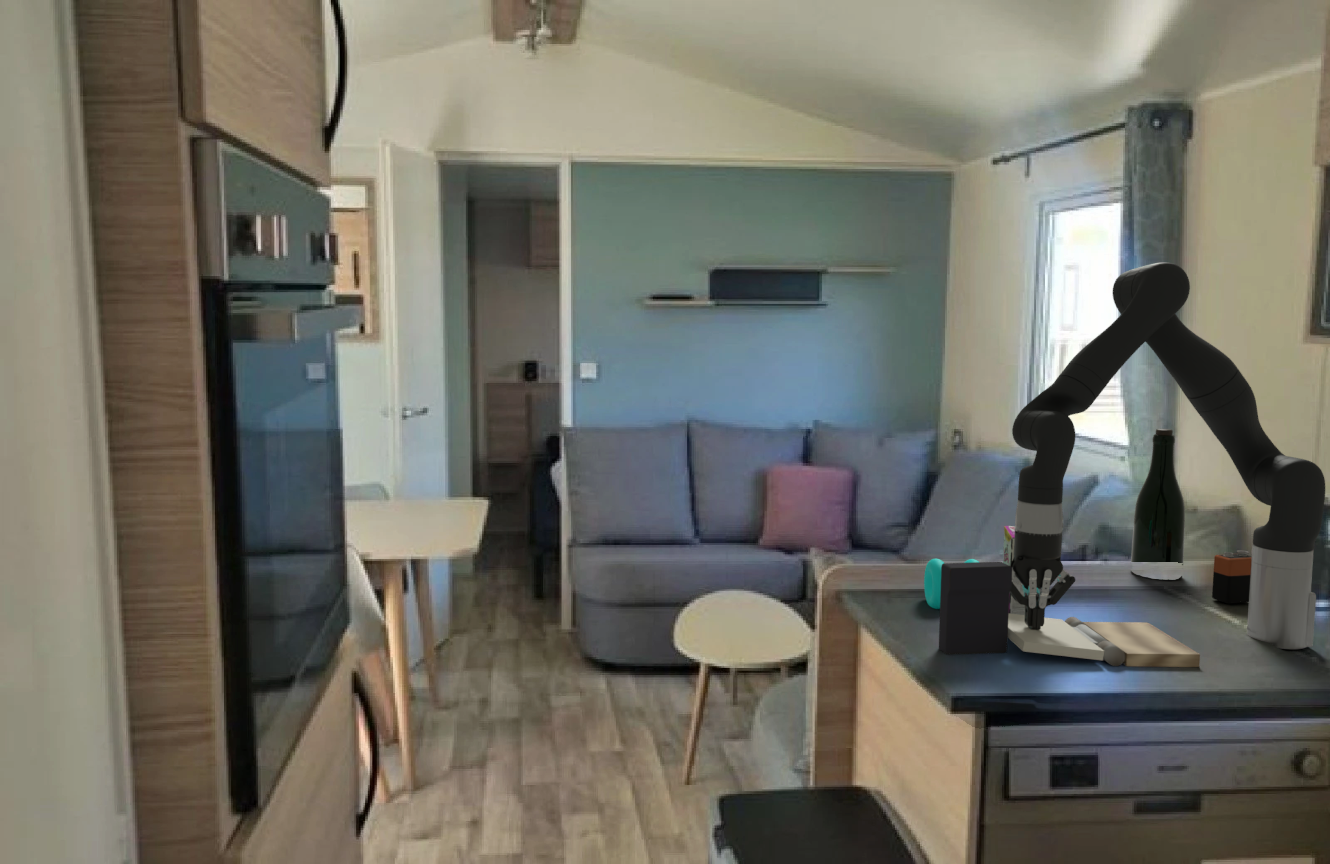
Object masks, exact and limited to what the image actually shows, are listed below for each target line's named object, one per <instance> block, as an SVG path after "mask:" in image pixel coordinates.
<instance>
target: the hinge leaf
mask: <svg viewBox="0 0 1330 864" xmlns="http://www.w3.org/2000/svg"><path fill="white" fill-rule="evenodd" d="M1024 619H1025V615H1019V614H1010V613H1009V615H1008V640H1010V641H1011V642H1012V643H1014V645H1016V647H1018V648H1019V649H1020V650H1021V651H1022V652H1026V653H1035V654H1044V655H1052V656H1060V657H1061V656H1062V657H1070V658H1077V659H1085V660H1086V659H1087V660H1095V661H1104V659H1103V656H1104V650H1102V649H1101V648H1100V647H1098V646H1097V645H1098V644H1099V643H1100V642H1102V641H1107V640H1106V639H1105V638H1103V637H1102V636H1100V635H1099V634H1098V633H1096V632H1095V631H1093V630H1092V629H1090V628H1089V627H1088V626H1086V625H1084V624H1080V625H1078V626H1076V627H1071V626H1070V625H1068V624H1067V623H1066V622H1065V620H1063V619H1062V618H1051V617H1045V616H1044V625H1043V626H1041V629H1040V630H1036V629H1030V628H1029V627H1028V625H1027V624H1025V621H1024Z"/></svg>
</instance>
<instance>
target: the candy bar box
mask: <svg viewBox="0 0 1330 864" xmlns="http://www.w3.org/2000/svg"><path fill="white" fill-rule="evenodd" d="M1014 538H1015V525H1013V526H1012V525H1004V526H1003V546H1002V547H1003V550H1002V551H1003V553H1002V555H1003V556H1002V558H1003V559H1002V563H1005V564H1007V565H1009V566H1010V565H1011V562H1012V560H1013V558H1014ZM1014 578H1015V581H1014V582H1013V584H1014V585H1015V586H1016V588H1017V589H1018V590H1019V592H1020V593H1021V594H1022V596H1024V592H1023V586H1022V583H1021V582H1020V581H1019V579H1018V578H1017V576H1016V575H1015V574H1014ZM1009 613H1010V614H1019V615H1025V605H1021V604H1019V603H1018V602H1017V601H1015V600H1014V598H1013V597H1012V596H1011V594H1010V593H1009Z"/></svg>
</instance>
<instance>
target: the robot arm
mask: <svg viewBox="0 0 1330 864" xmlns="http://www.w3.org/2000/svg"><path fill="white" fill-rule="evenodd" d="M1190 285H1191V283H1190V279H1189V276H1188V275H1187V272H1186V271H1185V270H1184V269H1183V268H1182V267H1180V265H1177V264H1175V263H1172V262H1168V261H1167V262H1166V261H1165V262H1156V263H1150V264H1146V265H1144V266H1139V267H1136V268H1133V269H1130V270H1127V271H1124V272H1123V273H1120V274H1119V276H1118V277H1117V278H1116V279H1115V281H1114V283H1113V286H1112V298H1113V302H1114V305H1115V307H1116V309H1117V310H1118V312H1119V313H1120V315H1118V317H1117V318H1116V319H1115V320H1114V321H1113V322H1112V323H1111V324H1110V325H1109V326H1108V327H1107V328H1106V329H1104V330H1103V331H1102V332H1101V333H1100V334H1098V335H1097V336H1096V337H1095V338H1093V339H1092V340H1091V341H1089V342H1088V344H1086V345H1085V346H1084V347H1083V348H1082V349H1080V351H1078V353H1076V355H1075V356H1074V357H1073V358H1071V360H1070V361H1069V362H1068V363H1067V365H1066V366H1065V367H1064V368H1063V370H1062V371H1061V372H1060V374H1059V375H1058V377H1057V378H1056V379H1055V380H1054V382H1053V383H1052V384H1051V385H1050V386H1049V387H1047V388H1046V389H1045V390H1042V391H1041V392H1040V394H1038V395H1037V396H1036V397H1034V398H1033V399H1032V400H1031V401H1030V402H1028V403H1027V404H1026V405H1025V406H1024V407H1023V408H1022V409H1021V410H1020V411H1019V413H1018V414H1017V415H1016V417H1015V419H1014V422H1013V424H1012V429H1011V432H1012V437H1013V441H1014V442H1015V443H1016V444H1017V446H1018V447H1020V448H1022V449H1025V450H1028V451H1033V452H1034V451H1035V452H1036V454H1035V458H1034V461H1033V464H1032V465H1027V466H1023V468H1022V469H1021V470H1020V472H1019V475H1018V485H1017V486H1018V488H1017V489H1018V490H1017V505H1016V510H1015V520H1014V526H1015V538H1014V558H1013V560H1012V562H1011V565H1010V566H1011V567H1012V586H1011V590H1010V592H1009V593H1010V594H1011V596H1012V597H1013V598H1014V600H1015V601H1017V602H1018V603H1019V604H1021V605H1025V619H1024V621H1025V624H1027V625H1028V627H1029V628H1030V629H1036V630H1040V629H1041V626H1043V625H1044V617H1045V613H1046V608H1047V607H1049V606H1051V605H1052V606H1055V605H1056V604H1057V603H1058V602H1059V601H1060V600H1061V599H1062V598H1063V596H1064V595H1065V594H1066V593H1067V592H1068V590H1069V589H1070V588H1071V587H1072V586H1073V585H1074V583H1075V582H1076V577H1075V576H1073V575H1072V574H1070V573H1068V572H1067V571H1066V570H1064V565H1063V562H1062V560H1061V559H1062V558H1061V557H1062V547H1063V546H1062V545H1063V528H1064V514H1063V513H1064V512H1063V495H1064V477H1065V474H1066V472H1067V470H1068V466H1069V464H1070V460H1071V456H1072V454H1073V451H1074V448H1075V443H1076V430H1075V426H1074V423H1073V420H1072V419H1071V417H1070V416H1072V415H1077V414H1081V413H1084V412H1086V411H1087V410H1089V408H1090V407H1091V406H1092V405H1093V403H1094V402H1095V401H1096V400H1097V399H1098V398H1099V396H1100V395H1101V393H1102V392H1103V390H1105V388H1106V386H1107V385H1108V384H1109V383H1110V382H1111V380H1112V379H1113V378H1114V376H1115V375H1116V374H1117V373H1118V372H1119V370H1121V368H1122V367H1123V366H1124V365H1125V364H1126V362H1127V361H1128V360H1129V359H1130V358H1131V357H1132V356H1133V355H1134V353H1136V352H1137V351H1138V349H1139V348H1140V347H1142V345H1144V344H1145V343H1146V344H1147V346H1149V347H1150V349H1151V350H1152V351H1153V352H1154V354H1155V355H1156V356H1157V358H1158V359H1159V360H1160V362H1161V364H1162V365H1163V366H1164V367H1165V369H1166V370H1167V372H1168V373H1169V374H1170V376H1171V377H1172V378H1173V379H1174V381H1175V383H1177V385H1178V387H1180V389H1181V391H1182V392H1183V394H1184V395H1185V397H1186V398H1187V400H1188V402H1189V403H1190V404H1191V406H1192V407H1193V408H1194V409H1195V411H1196V413H1197V414H1198V415H1199V416H1200V417H1201V418H1202V420H1203V421H1204V423H1206V425H1207V427H1208V428H1209V429H1210V431H1211V432H1212V433H1213V435H1214V436H1215V437H1216V439H1217V440H1218V441H1219V442H1220V444H1221V446H1223V448H1224V450H1225V451H1226V452H1227V454H1228V456H1229V458H1230V459H1231V461H1232V463H1233V464H1234V466H1235V469H1236V470H1237V471H1238V474H1239V475H1240V477H1241V480H1242V481H1243V482H1244V485H1245V486H1246V488H1247V490H1249V492H1250V494H1251V495H1252V496H1253V497H1254V498H1255V499H1256V500H1257V501H1259V502H1260V503H1262V504H1264V505H1266V506H1270V510H1269V517H1268V521H1267V522H1266V524H1264V525H1261V526H1258V527H1256V528H1254V531H1253V534H1252V544H1251V545H1252V547H1251V548H1252V549H1251V556H1252V561H1251V577H1250V592H1249V602H1248V610H1247V611H1248V612H1247V623H1246V625H1247V626H1246V634H1247V636H1248V637H1250V638H1252V639H1255V640H1258V641H1262V642H1265V643H1267V644H1270V645H1271V646H1274V647H1275V648H1277V649H1283V650H1301V649H1305V648H1308V647H1309V648H1311V647H1312V648H1313V645H1314V630H1315V619H1316V618H1315V615H1316V603H1317V595H1316V593H1315V592H1312V580H1313V579H1312V577H1313V564H1314V563H1313V562H1314V549H1315V542H1316V540H1317V538H1318V536H1319V534H1320V532H1321V528H1322V523H1323V522H1322V521H1323V515H1324V507H1325V500H1326V498H1325V497H1326V479H1325V476H1324V473H1323V471H1322V469H1321V468H1320V467H1319V466H1318V465H1317V464H1316V463H1315V462H1313V461H1310V460H1307V459H1303V458H1299V457H1293V456H1289V455H1285V453H1283V452H1281V450H1279V448H1278V447H1277V446H1276V445H1275V444H1274V443H1273V442H1272V440H1271V439H1270V437H1269V436H1268V435H1267V433H1266V432H1265V431H1264V429H1263V427H1262V425H1261V423H1260V420H1259V414H1258V407H1257V402H1256V401H1257V400H1256V397H1255V393H1254V391H1253V389H1252V387H1251V385H1250V383H1249V382H1248V381H1247V379H1246V378H1245V376H1244V375H1243V373H1242V372H1241V371H1240V369H1239V368H1238V367H1237V365H1236V364H1235V363H1234V361H1233V360H1232V359H1231V358H1230V357H1228V355H1226V354H1225V353H1224V352H1223V351H1222V350H1220V349H1218V347H1216V346H1214V345H1212V343H1210V342H1208V341H1206V339H1203V338H1202V337H1200V336H1199V335H1198V334H1197V333H1195V332H1194V331H1192V330H1191V329H1189V328H1188V327H1187V326H1186V325H1185V324H1184V323H1183V322H1182V321H1181V319H1180V318H1179V317H1178V316H1177V313H1178V311H1180V310H1181V308H1183V306H1185V304H1186V302H1187V300H1188V299H1189V295H1190V290H1191V286H1190ZM1014 574H1015V575H1016V576H1017V578H1018V579H1019V581H1020V582H1021V583H1022V586H1023V592H1024V596H1022V594H1021V593H1020V592H1019V590H1018V589H1017V588H1016V586H1015V585H1014V584H1013V582H1014V581H1015V578H1014ZM1056 580H1057V581H1056ZM1055 581H1056V583H1055V584H1054V585H1053V583H1054V582H1055ZM1051 585H1053V586H1052V587H1051Z"/></svg>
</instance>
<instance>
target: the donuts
mask: <svg viewBox="0 0 1330 864" xmlns="http://www.w3.org/2000/svg"><path fill="white" fill-rule="evenodd" d="M974 562H980V561H979V560H977V559H975V558H969V559H967V560H965V561H964V562H963V563H974ZM944 563H945V562H944V560H942V559H939V558H932V559H930V560H929V561H928V562H927V564H926V566H925V570H924V575H923V576H924V577H923V580H924V581H923V585H924V586H923V587H924V590H923V591H924V596H925V600H926V603H927V605H928V606H929V607H930V608H932V609H935V610H940V595H941V567H942V564H944Z"/></svg>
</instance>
